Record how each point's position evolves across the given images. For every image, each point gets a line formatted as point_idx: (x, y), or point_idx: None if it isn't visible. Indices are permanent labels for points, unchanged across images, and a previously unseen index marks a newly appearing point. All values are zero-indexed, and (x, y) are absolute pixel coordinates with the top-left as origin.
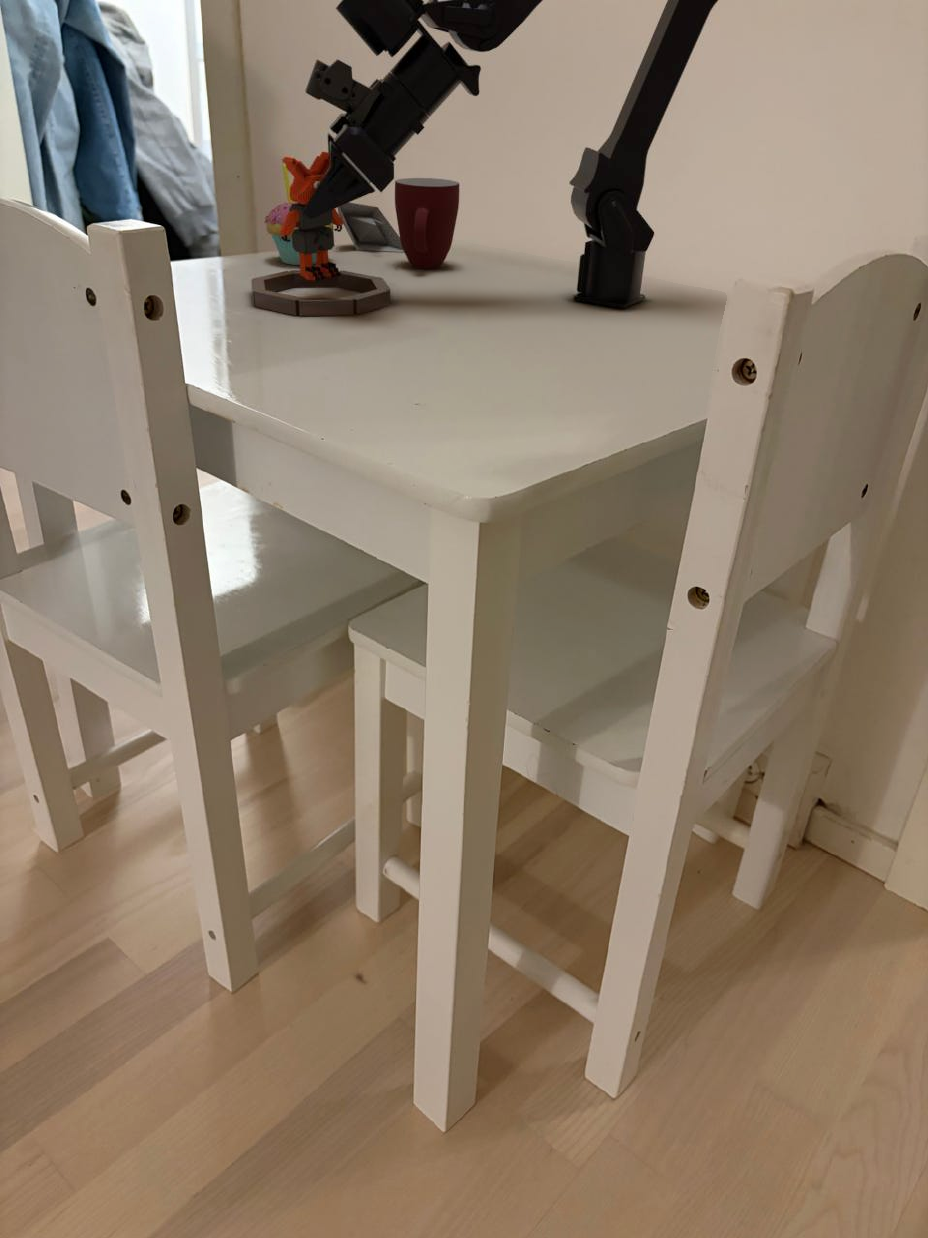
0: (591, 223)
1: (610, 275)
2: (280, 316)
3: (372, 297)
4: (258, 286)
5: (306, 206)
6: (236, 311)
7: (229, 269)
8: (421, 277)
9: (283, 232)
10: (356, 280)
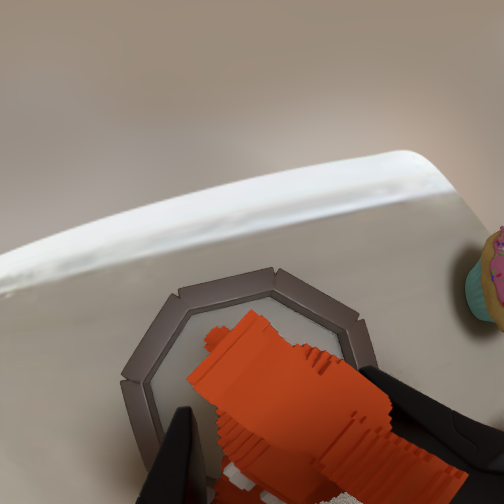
0: None
1: None
2: (123, 349)
3: None
4: (214, 292)
5: (171, 421)
6: (145, 274)
7: (411, 208)
8: None
9: (206, 338)
10: None
